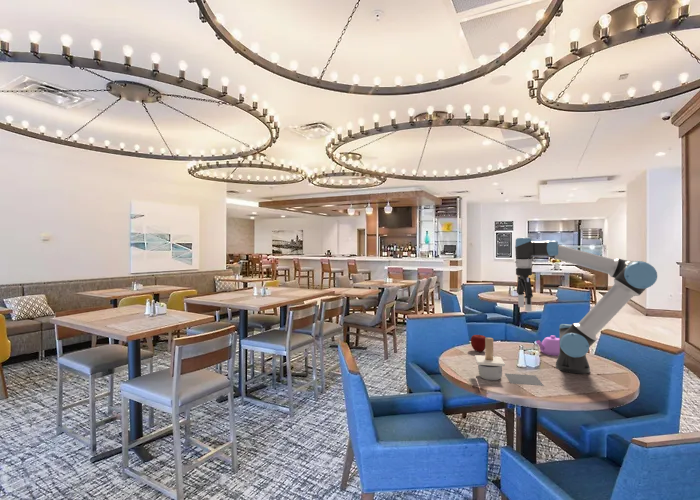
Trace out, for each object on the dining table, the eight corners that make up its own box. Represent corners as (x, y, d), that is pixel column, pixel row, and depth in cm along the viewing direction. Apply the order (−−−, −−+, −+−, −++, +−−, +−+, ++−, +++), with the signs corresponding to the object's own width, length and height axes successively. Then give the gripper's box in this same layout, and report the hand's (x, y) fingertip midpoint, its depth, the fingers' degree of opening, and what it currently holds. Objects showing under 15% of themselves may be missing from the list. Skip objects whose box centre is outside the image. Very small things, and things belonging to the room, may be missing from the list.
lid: (500, 359, 182) (500, 336, 182) (505, 366, 170) (505, 342, 170) (474, 357, 185) (474, 335, 185) (477, 364, 173) (477, 340, 173)
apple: (485, 354, 220) (485, 337, 220) (468, 351, 225) (468, 335, 225) (488, 350, 228) (488, 334, 228) (473, 348, 233) (473, 332, 233)
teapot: (529, 351, 227) (529, 333, 227) (557, 349, 230) (557, 332, 230) (545, 357, 213) (545, 339, 213) (575, 355, 217) (575, 337, 217)
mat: (535, 377, 179) (535, 375, 179) (544, 387, 165) (543, 385, 165) (504, 375, 182) (504, 373, 182) (510, 385, 168) (510, 383, 168)
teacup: (504, 384, 170) (504, 366, 170) (479, 382, 172) (479, 365, 172) (498, 374, 183) (498, 358, 183) (475, 373, 185) (475, 357, 185)
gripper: (510, 266, 203) (511, 305, 203) (522, 268, 179) (523, 312, 179) (524, 266, 202) (525, 305, 202) (539, 268, 178) (540, 312, 177)
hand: (524, 309), depth 190 cm, fingers open, 13 cm apart
